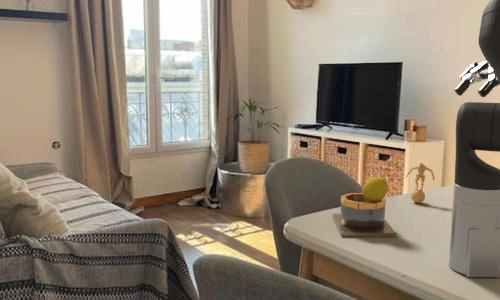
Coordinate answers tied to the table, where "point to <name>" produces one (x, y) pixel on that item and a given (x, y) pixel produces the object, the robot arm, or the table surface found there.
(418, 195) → the figurine
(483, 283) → the table surface
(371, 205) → the pot on wooden stand
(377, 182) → the lemon
